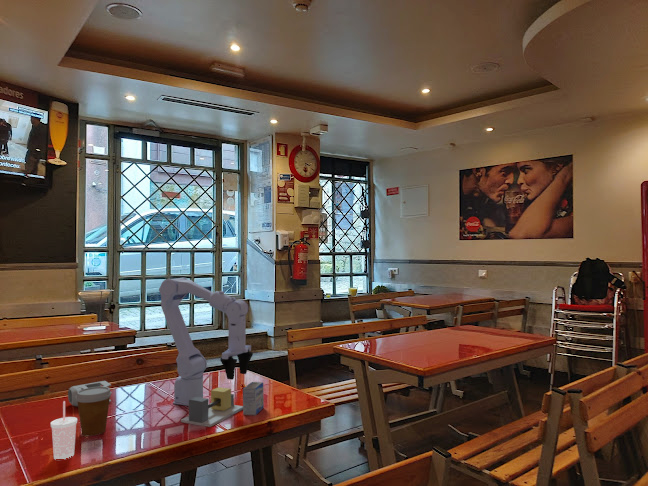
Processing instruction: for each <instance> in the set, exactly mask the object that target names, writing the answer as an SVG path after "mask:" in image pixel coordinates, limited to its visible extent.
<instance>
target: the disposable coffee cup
mask: <svg viewBox="0 0 648 486" xmlns="http://www.w3.org/2000/svg"><path fill="white" fill-rule="evenodd" d="M112 393H113V392H112V391H111V388H110V387H109V386H108V387H101V386H100V387H91V388H86V389H83V390H80V391H78V393H77V396H76V400H77V402H78V406H77V409H78V416H79V422H80V431H81V435H82V436H86V437H91V436H92V435H93V436H97V435H101V434H103V433H105V432H106V430H107V421H108V413H109V405H110V402H109V400H111V399H110V398H111V395H112Z"/></svg>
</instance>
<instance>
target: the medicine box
mask: <svg viewBox="0 0 648 486" xmlns="http://www.w3.org/2000/svg"><path fill="white" fill-rule="evenodd" d="M264 399H265V398H264V382H262V381H261V382H260V381H251V382H250V383H248V384H247V385H245V387H243V388H242V406H243V409H242V414H243V416H244V415H245V416H257V415H258V414H259V413H260V412H261V411H262V410H263V409H264V407H265V406H264V405H265V404H264Z"/></svg>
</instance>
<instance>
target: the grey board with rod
mask: <svg viewBox="0 0 648 486" xmlns="http://www.w3.org/2000/svg"><path fill="white" fill-rule="evenodd" d="M234 396H235V395H234V393H231V407H230V408H228V409H226V410H224V411H222V410H215V409H211V407H213V406H215V405H217V404H219V403H221V399H219V400H216V401H214V402H212V403H211V402H210V403H209V398H205V397H203V398H199V397H194V398H192V399H189V406H188V416H186V417H184V418H181V419H180V421H181V423H184V424H189V425H196V426H201V427H207V428H212V427H213V426H215V425H216V424H218V423H219V424H220V423H221V422H222V421H224V420H226V419H228V418H229V417H232V416H233V415H235V414H237V413H238V412H241V411H243V405H238V404H237V405H236V404H235V400H234V399H235V397H234Z"/></svg>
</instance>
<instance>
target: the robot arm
mask: <svg viewBox="0 0 648 486" xmlns="http://www.w3.org/2000/svg"><path fill="white" fill-rule="evenodd" d="M158 292H159V293H160V300H161V301H160V304H161V305H160V307H161V311H162V313H163V315H164V318H165V320H166V323H167V325H168V328H169V331H170V333H171V337H172V340H173V342H174V344H175V347H176V349H177V352H178V354H177V357H176V359H175V362H176V364H177V366H176V367H177V369H176V370H177V374H178V377H176V379H175V382H174V387H173V390H174V392H173V393H174V394H173V395H174V396H173V397H174V400H173V402H172V404H173V405H181V406H188V407H189V399H192V398H194V397H199V398H204V371H205V370H206V369H207V367H208V363H207V360H206V358H205V357H204V355H203V354H202V353H201V351H200V350H199V349H198V348H196V347H195V346H194V343H193V340H192V338H191V335H190V332H189V330H188V327H187V325H186V323H185V320H184V317H183V314H182V312H181V309H180V307H179V305H180V304H181V301H182V300H183V299H184V298H185V297H186V295H187V294H190V295H193V296H195V297H197V298H200V299H203V300H204V301H207V302H208V304H209V306H210V307H212V308H214V309H216V310H218V311H220V312H222V313H224V314H225V315H226V317H227V320H228V344H227V345H228V348H227V350H225V351H224V352H222V353H221V357H220V363H221V364H222V366H223V368H224V371H225V375H226V379H227V380H231V381H232V380H234V378H235V371H236V370H235V369H236V366H237V362H238V365H239V366H238V367H239V374H241V375H246V374H247V372H248V367H249V364H250V361H251V360H252V359H251V358H252V357H253V354H254V353H253V352H251V351H252V345H251V344H250V345H249V344H247V343H246V336H247V335H246V333H247V332H246V329H247V328H246V326H247V325H246V322H247V321H246V316H247V314H248V312H249V305H248V303H247V301H245V300H244V299H238V300H237V299H236V297H235V296H230V295H227V294H225V291H223V290H219V291H218V290H217V291H214V292H213V291H212V290H209V289H207V288H205V287H203V286H202V285H200V284H198V283H196V282H194V281H193V280H192V279H189V278H187V277H178V278H166V279H164V280H163V281H162V282H161V284H160V286H159V289H158ZM234 357H237V358H234Z"/></svg>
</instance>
